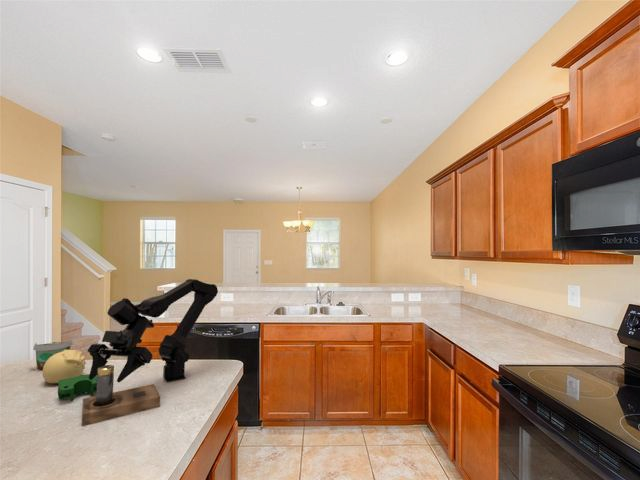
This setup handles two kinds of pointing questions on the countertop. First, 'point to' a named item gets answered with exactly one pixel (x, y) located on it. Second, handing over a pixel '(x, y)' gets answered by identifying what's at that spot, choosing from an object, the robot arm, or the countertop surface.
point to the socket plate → (121, 404)
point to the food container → (49, 351)
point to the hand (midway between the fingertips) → (103, 380)
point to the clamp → (76, 386)
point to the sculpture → (64, 366)
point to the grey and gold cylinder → (105, 385)
